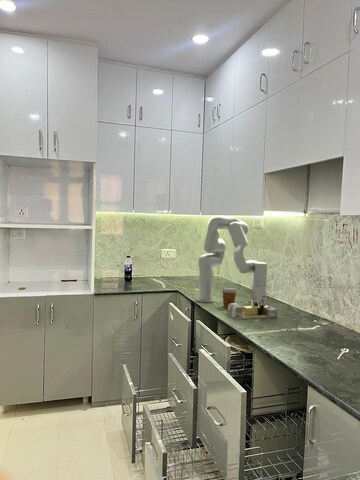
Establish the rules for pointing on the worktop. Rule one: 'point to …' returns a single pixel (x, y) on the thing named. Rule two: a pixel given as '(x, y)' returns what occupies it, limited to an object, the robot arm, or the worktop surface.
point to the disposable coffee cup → (228, 295)
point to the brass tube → (252, 310)
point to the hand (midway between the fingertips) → (258, 313)
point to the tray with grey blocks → (237, 313)
